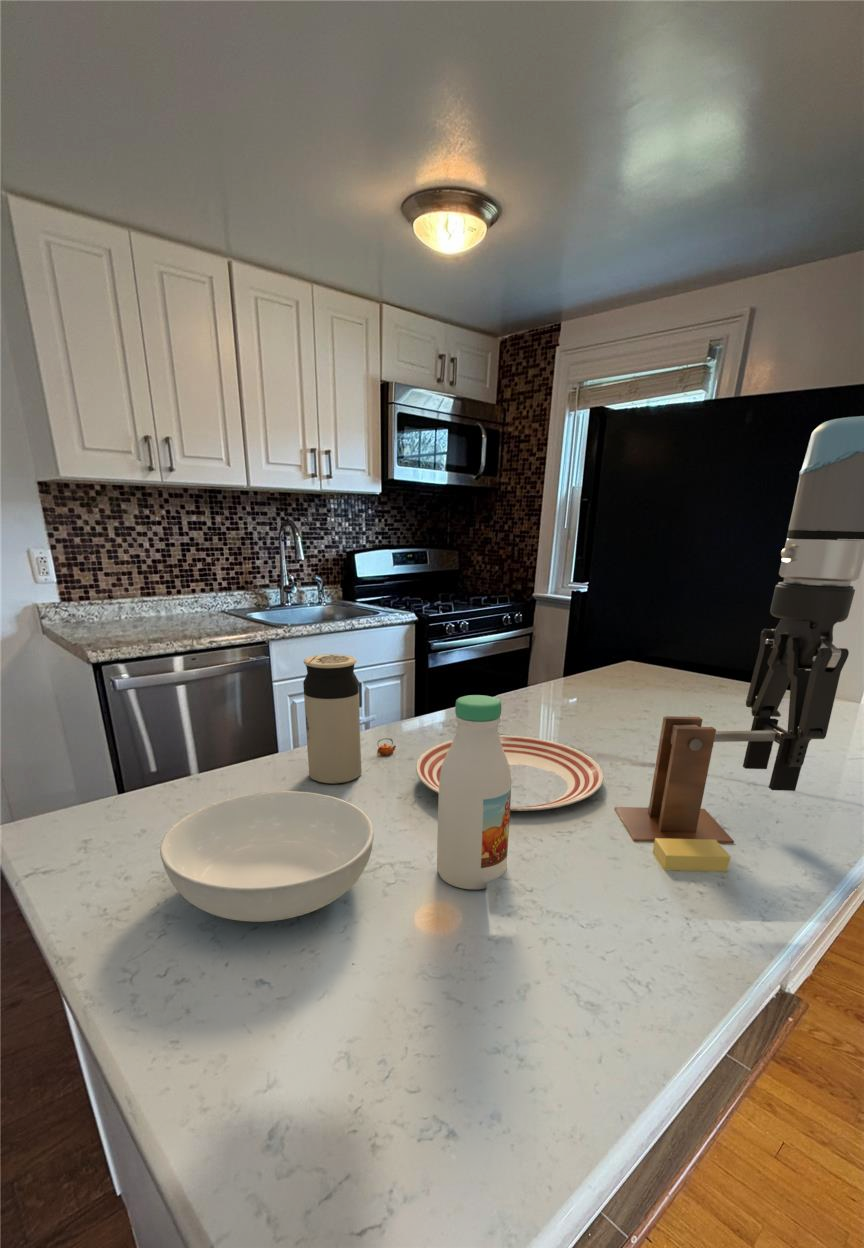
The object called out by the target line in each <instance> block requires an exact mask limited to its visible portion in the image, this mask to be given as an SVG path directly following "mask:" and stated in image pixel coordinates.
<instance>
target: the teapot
mask: <svg viewBox="0 0 864 1248" xmlns="http://www.w3.org/2000/svg"><path fill="white" fill-rule="evenodd" d="M383 740H390V742H391V745H389V744H386V743H384V744H382V745H380V746H379V744H377V747H378V748H377V751H376V755H377V756H378V757H387V756H391V755H392V754H393V753H394V751H395V750H396V747H397V745H393V744H394V741H393V739H391V738H385V737H384V738H381V739H379V740H378V741H377V743H379V742H380V741H383Z"/></svg>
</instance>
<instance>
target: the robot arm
mask: <svg viewBox="0 0 864 1248" xmlns="http://www.w3.org/2000/svg"><path fill="white" fill-rule="evenodd" d="M798 475H799V476H798V482H797V487H796V492H795V497H794V501H793V506H792V511H791V515H790V521H789V524H788V531H787V535H786V541H785V545H784V548H782V550H780V556H781V563H780V566H779V572H778V575H779V576H780V577H781V578H783V581H779V582H777V584H775V587H774V591H773V596H772V600H771V605H770V609H769V613H770V615H771V616H772V617H775V618H776V619H777V618H778V619H779V622H778V624H777V626H776V627H775V628H763V629H762V630H761V632H760V639H759V650H758V654H757V657H756V661H755V665H754V669H753V672H752V677H751V681H750V684H749V688H748V692H747V697H746V700H745V706H746V708H751V711H750V712H751V716H752V717H753V719H752V723H751V727H750V731H761V726H762V724H763V723H765V722H768V721H770V722H772V723H774V724H776V725H777V726H779V719H777V718H780V717H782V714H781V712H780V711H779V710H778V709H779V708H780V705H781V703H782V701H783V699H784V697H785V694H786V691H787V690H788V688H789V687H790V688H789V689H790V690H789V702H788V703H789V705H788V717H787V718H788V719H787V730H786V731H787V733H781V740H780V744H778V748H777V751H776V757H775V760H774V765H773V768H772V773H771V777H770V781H769V785H768V789H769V790H771V791H784V792H785V791H788V792H789V791H790V792H796V789H797V785H798V782H799V778H800V774H801V769H802V767H803V765H804V762H805V759H806V755H807V751H808V749H809V748H808V747H809V745H810V741H812V740H824V739H826V738H827V734H828V730H829V725H830V722H831V717H832V712H833V708H834V703H835V699H836V695H837V690H838V685H839V681H840V677H841V672H842V670H843V668H844V666H845V663H846V662H847V659H848V657H849V654H850V651H849V649H848V648H846V647H845V648H844V647H837V646H835V644H833V641H834V627H835V625H836V624H837V623H842V622H844V621H846V620H847V619H848V618H849V614H850V611H851V607H852V604H853V600H854V597H855V592H856V589H855V587H854V586H853V585H851V583H852V582H854V581H857V580H859V579H860V576H861V573H862V569H863V564H864V415H860V416H847V417H841V418H834V419H830V420H827V421H824V422H822V423H821V424H819V425H818V426H817V427H816V428H815V429H814V430H813V431H812V432H811V435H810V438H809V441H808V445H807V448H806V452H805V456H804V459H803V463H802V466H801V469H800V471H799V473H798ZM789 685H790V686H789ZM773 745H774V741H747V745H746V749H745V755H744V759H743V762H742V768H744V769H745V770H767V769H768V765H769V762H770V757H771V754H772V749H773Z"/></svg>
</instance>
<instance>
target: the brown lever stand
mask: <svg viewBox="0 0 864 1248" xmlns="http://www.w3.org/2000/svg"><path fill="white" fill-rule="evenodd" d="M673 725H697V726H698V727H682V726H675V731H674V736H673V742H672V744H671V736H672V729H673ZM702 725H703V718H701V717H700V716H672V715H671V716H670V715H669V716H668V715H664V716H663V717H662V723H661V730H660V736H659V742H658V748H657V756H656V761H655V767H654V771H653V773H654V774H653V779H652V785H651V792H650V798H649V803H648V804H649V805H648V807H641V806H640V807H637V806H614V808H613V809H614V811H615V813H616V815H617V816H618V818H619V819H620V822H622V824H623V826H624V828H625V830H626V831H627V833H628V835H629V836H630V838H631V840H632V841H633V842H641V843H643V842H645V843H646V842H647V843H649V842H650V843H654V842H655V838H665V839H711V840H716V841H717V842H718V843H719V844H734V843H735V840H734V839H733V838H732V837H731V836H730V835H729V833H727V832H726V831H725V829H724V828H723V827H722V826H721V825H720V824H719V823H718V822H717V821H716V819H715V818H714V817H713V816H712V815H711V814H710V813H709V812H708V811H707V810H706V809H705V808H702V804H703V798H704V793H705V788H706V784H707V779H708V773H709V767H710V763H711V759H712V753H713V748H714V743H715V742H714V738H715V733H716V731H717V729H716V728H715V727H713V726H702Z"/></svg>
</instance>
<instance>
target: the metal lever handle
mask: <svg viewBox="0 0 864 1248" xmlns="http://www.w3.org/2000/svg"><path fill="white" fill-rule="evenodd" d="M675 726H682V727H698V726H697V725H673V729H672V736H671V744H672V742H673V736H674V731H675ZM787 731H788V730H786V729H784V728H783V727H781V726H779V725H776V724H774V723H772V722H770V721H768V722H765V723H763V724H762V726H761V731H751V730H716V733H715V738H714V743H728V742H731V743H733V742H735V743H737V742H748V741H773V742H775V743H777V744H778V745H779V744H780V740H781V733H787Z"/></svg>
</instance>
